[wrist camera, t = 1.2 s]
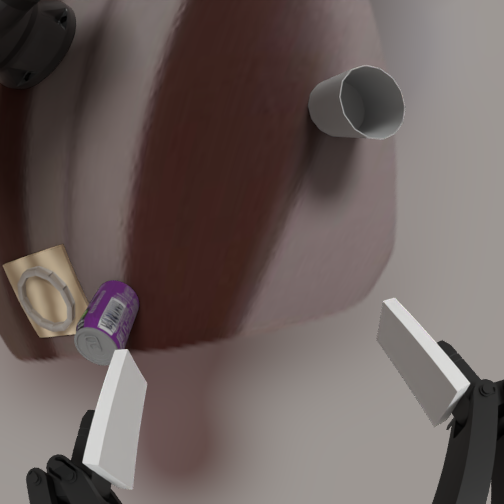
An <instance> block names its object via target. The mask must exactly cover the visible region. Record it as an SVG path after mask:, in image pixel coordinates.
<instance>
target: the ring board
mask: <svg viewBox="0 0 504 504" xmlns="http://www.w3.org/2000/svg"><path fill="white" fill-rule="evenodd" d="M3 267H4V270H5V272H6V274H7V277H8V279H9V281H10V283H11V285H12V287H13V290H14V292H15V294H16V296H17V298H18V300H19V302H20V304H21V306H22V307H23V309H24V311H25V313H26V315H27V317H28V318H29V320H30V322H31V324H32V325H33V327H34V329H35V331H36V332H37V334H38V335H39V337H40V338H42V337H53V336H63V335H72V334H76V326H77V324H78V322H79V320H80V318H81V317H82V315H83V313H84V312H85V310H86V308H87V307H88V305H89V303H88V301H87V299H86V297H85V294H84V292H83V290H82V288H81V286H80V284H79V281H78V279H77V277H76V274H75V272H74V270H73V267H72V265H71V262H70V260H69V257H68V255H67V252H66V250H65V247H64V244H61V245H58V246H55V247H52V248H49V249H46V250H43V251H40V252H37V253H34V254H31V255H28V256H25V257H22V258H19V259H16V260H14V261H11V262H8V263H5V264H4V265H3Z"/></svg>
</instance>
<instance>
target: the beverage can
mask: <svg viewBox="0 0 504 504" xmlns="http://www.w3.org/2000/svg"><path fill="white" fill-rule="evenodd" d="M138 309H139V300H138V297H137V295H136V293H135V292H134V290H133V289H132V288H131V287H129V286H128V285H127V284H125V283H123V282H120V281H107V282H105V283H103V284H102V285H101V286H100V288H99V289H98V291H97V292H96V294H95V296H94V297H93V299H92V300H91V302H90V304H89V305H88V307H87V308H86V310H85V312H84V313H83V315H82V317H81V318H80V320H79V322H78V324H77V326H76V334H75V337H74V343H75V346H76V348H77V350H78V351H79V353H80V354H81V355H82V356H83V357H84V358H86V359H87V360H89V361H91V362H92V363H95V364H98V365H110V363H111V360H112V357H113V354H114V351H115V350H121V349H124V348H125V345H126V342H127V339H128V337H129V334H130V331H131V328H132V325H133V323H134V320H135V317H136V314H137V312H138Z"/></svg>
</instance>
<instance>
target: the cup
mask: <svg viewBox="0 0 504 504" xmlns="http://www.w3.org/2000/svg"><path fill="white" fill-rule="evenodd" d="M308 108H309V112H310V116H311V119H312V121H313V122H314V123H315V124H316V126H317V127H318V128H319V129H320V130H321V131H323V132H324V133H326V134H328V135H330V136H334V137H353V138H368V139H381V140H383V139H385V138H388V137H390V136H392V135H394V134H395V133H396V132H397V131H398V129H399V128H400V126H401V125H402V123H403V120H404V114H405V103H404V99H403V94H402V91H401V90H400V88H399V86H398V85H397V83H396V82H395V80H394V79H393V77H391V76H390V75H389V74H387V73H386V72H385V71H383V70H382V69H380V68H377V67H373V66H368V65H363V66H360V67H357V68H353V69H351V70H348V71H346V72H343V73H341V74H339V75H337V76H334V77H332V78H330V79H328V80H325V81H323V82H321V83H319V84H318V85H317V86H316V87H315V88H314V89H313V91H312V92H311V93H310V98H309V103H308Z"/></svg>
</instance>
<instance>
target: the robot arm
mask: <svg viewBox="0 0 504 504" xmlns="http://www.w3.org/2000/svg"><path fill="white" fill-rule="evenodd" d="M75 27H76V18H75V14H74V12H73V10H72V9H71V8H70V7H69V6H67V5H66V4H65V3H63V2H61V1H58V0H0V83H1V84H3V85H4V86H6V87H8V88H13V89H26V88H29V87H32V86H34V85H36V84H37V83H39V82H40V81H42V80H43V79H44V78H46V77H47V76H48V75H49V74H50V73H51V72H52V71H53V70H54V69H55V67H56V66H57V65H58V64H59V62H60V61H61V60H62V58H63V57H64V55H65V54H66V52H67V50H68V48H69V46H70V44H71V42H72V39H73V36H74V33H75ZM377 341H378V343H379V344H380V345H381V347H382V348H383V350H384V351H385V353H386V354H387V356H388V357H389V358H390V360H391V361H392V363H393V364H394V366H395V367H396V369H397V370H398V372H399V373H400V375H401V376H402V378H403V379H404V381H405V382H406V384H407V385H408V387H409V388H410V390H411V391H412V393H413V394H414V396H415V397H416V399H417V401H418V402H419V404H420V405H421V407H422V408H423V410H424V412H425V413H426V415H427V416H428V418H429V420H430V421H431V423H432V424H433V426H434V427H436V426H437V425H439V424H441V423H442V422H444V421H446V420H447V419H448V417H449V416H450V415H451V413H452V414H453V416H454V418H453V419H452V421H451V422H450V423H449V425H448V426H447V430H448V429H449V428H450V427H451V426H452V428H451V433H450V438H449V444H448V448H447V453H446V457H445V462H444V466H443V470H442V474H441V477H440V481H439V484H438V487H437V491H436V494H435V497H434V500H433V502H432V504H486V500H487V496H488V492H489V487H490V482H491V504H504V380H502V381H498V382H494V383H493V382H492V381H490V380H487V379H483V380H481V379H480V378H479V377H478V376H477V375H476V374H475V372H474V371H473V370H472V369H471V368H470V367H469V365H468V364H467V363H466V362H465V361H464V359H462V357H461V356H460V355H459V354H457V352H456V350H455V349H454V348H453V347H452V346H451V345H450V344H448V343H446V342H444V341H439V342H437V343H436V342H435V341H434V340H433V338H432V337H431V336H430V335H429V334H428V333H427V332H426V331H425V330H424V328H423V327H422V326H421V325H420V324H419V323H418V322H417V321H416V320H415V319H414V318H413V317H412V315H411V314H410V313H409V312H408V311H407V310H406V309H405V308H404V307H403V306H402V305H401V304H400V303H399V302H398V300H397V299H396V298H391V299H388V300H385V301H383V303H382V310H381V316H380V323H379V329H378V335H377ZM146 388H147V383H146V381H145V379H144V377H143V376H142V374H141V372H140V371H139V369H138V367H137V365H136V364H135V362H134V360H133V358H132V356H131V354H130V352H129V351H128V349H121V350H115V351H114V354H113V357H112V360H111V363H110V365H109V368H108V372H107V374H106V378H105V381H104V384H103V387H102V390H101V393H100V396H99V400H98V403H97V407H96V410H88V411H87V412H86V414H85V415H84V416H83V418H82V421H81V424H80V429H79V431H78V436H77V439H76V442H75V446H74V450H73V454H72V458H71V460H69V459H68V458H67V457H65V456H63V455H54V456H52V457H51V458H50V459H49V461H48V463H47V467H46V469H47V473H46V472H44V471H43V470H41V469H39V468H33V469H31V470H30V471H29V472H28V474H27V477H26V482H27V489H28V494H29V500H30V504H122V503H121V501H120V500H119V499H118V497H117V496H116V494H115V493H114V492H113V491H112V490H111V484H113V485H114V486H116V487H118V488H123V489H131V490H133V482H134V473H135V463H136V454H137V446H138V439H139V431H140V425H141V418H142V411H143V405H144V399H145V394H146Z"/></svg>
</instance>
